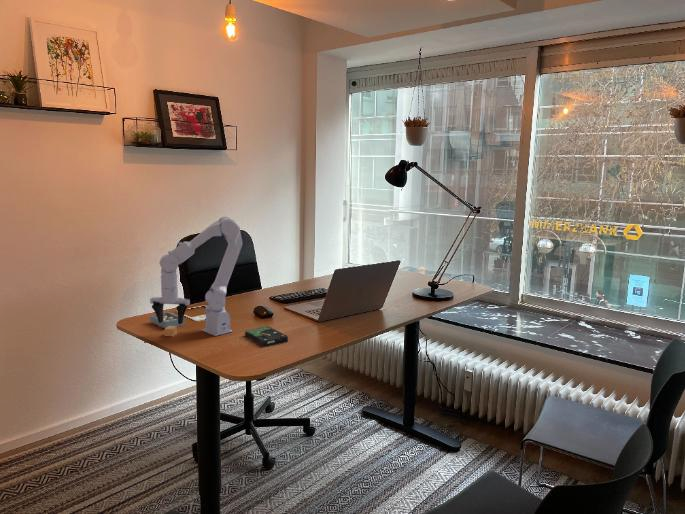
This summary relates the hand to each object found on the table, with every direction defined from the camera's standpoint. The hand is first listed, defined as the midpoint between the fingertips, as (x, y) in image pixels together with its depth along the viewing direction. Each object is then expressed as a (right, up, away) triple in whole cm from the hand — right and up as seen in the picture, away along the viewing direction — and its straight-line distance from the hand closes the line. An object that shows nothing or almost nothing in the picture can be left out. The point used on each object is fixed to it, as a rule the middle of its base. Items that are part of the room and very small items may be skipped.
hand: (170, 322), depth 199 cm
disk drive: (+36, -7, 0) cm, 36 cm away
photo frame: (+3, 0, +30) cm, 30 cm away
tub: (-6, -2, +14) cm, 15 cm away
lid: (0, -5, +1) cm, 6 cm away
